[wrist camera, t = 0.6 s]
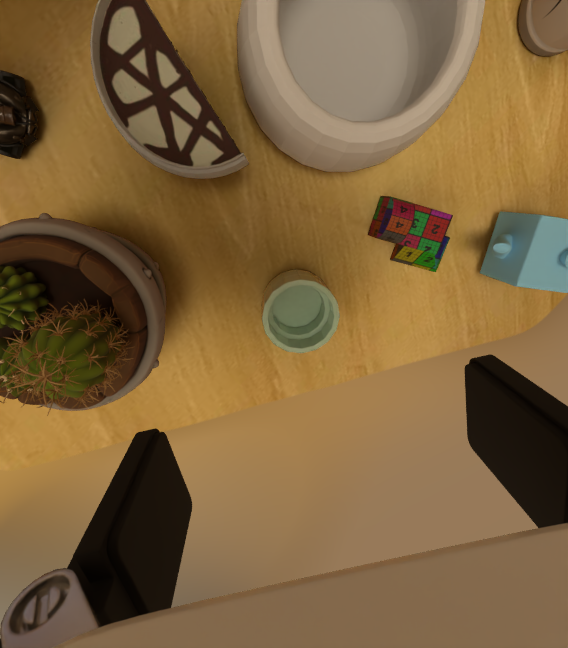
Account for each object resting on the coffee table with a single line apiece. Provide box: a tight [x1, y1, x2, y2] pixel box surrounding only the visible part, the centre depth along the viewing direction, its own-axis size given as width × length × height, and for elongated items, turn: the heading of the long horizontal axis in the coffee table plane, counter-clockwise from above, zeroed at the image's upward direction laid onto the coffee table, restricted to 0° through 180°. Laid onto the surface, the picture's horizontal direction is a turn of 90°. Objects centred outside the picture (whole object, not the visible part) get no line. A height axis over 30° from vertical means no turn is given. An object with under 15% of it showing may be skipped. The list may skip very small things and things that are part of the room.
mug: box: [237, 0, 485, 172], centre depth 26 cm, size 21×17×10 cm
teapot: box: [480, 212, 568, 293], centre depth 33 cm, size 12×6×8 cm, turn 82°
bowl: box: [261, 269, 340, 353], centre depth 35 cm, size 7×7×5 cm
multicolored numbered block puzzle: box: [368, 196, 453, 272], centre depth 34 cm, size 8×5×4 cm
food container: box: [90, 0, 249, 179], centre depth 27 cm, size 12×6×10 cm, turn 33°
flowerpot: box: [0, 213, 166, 416], centre depth 26 cm, size 14×15×20 cm
